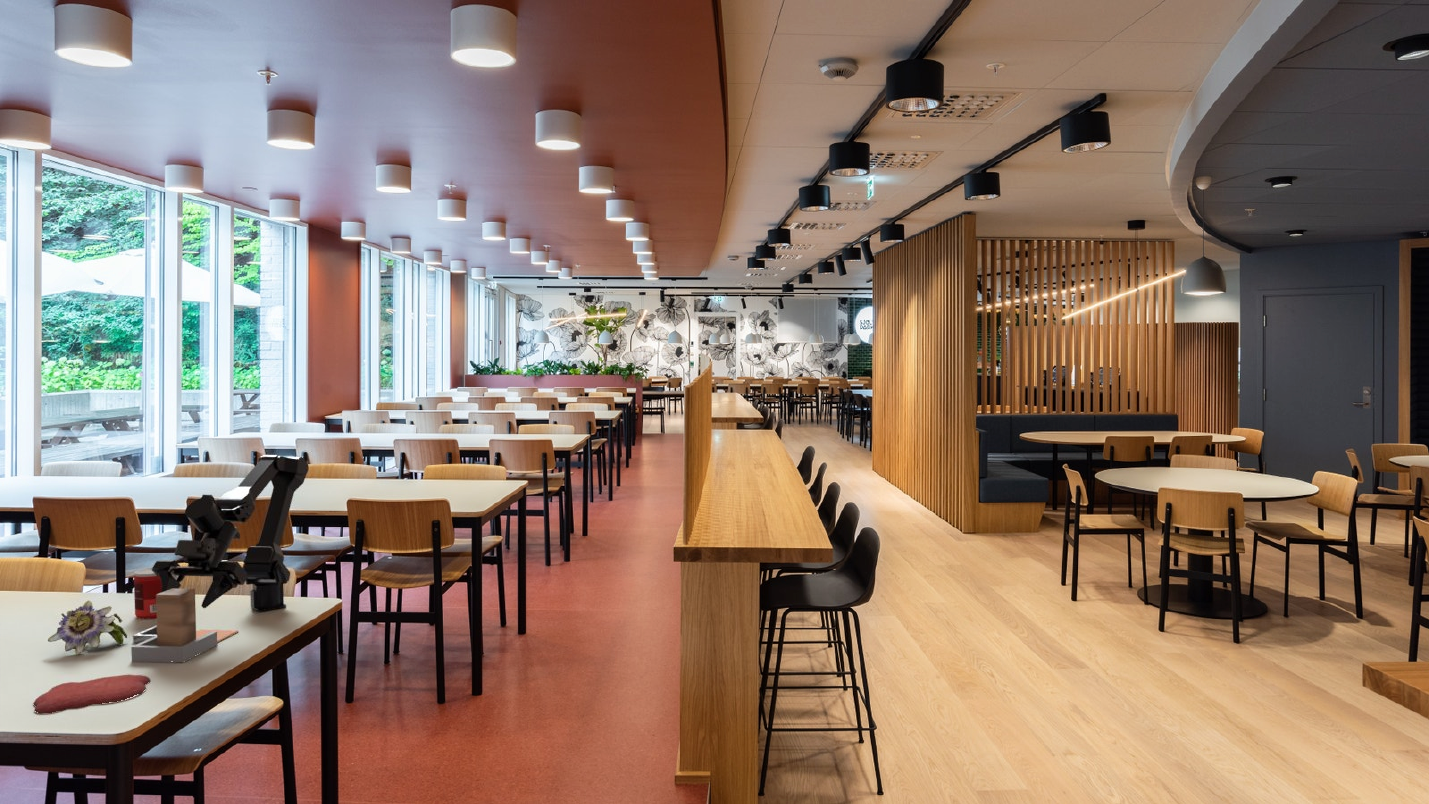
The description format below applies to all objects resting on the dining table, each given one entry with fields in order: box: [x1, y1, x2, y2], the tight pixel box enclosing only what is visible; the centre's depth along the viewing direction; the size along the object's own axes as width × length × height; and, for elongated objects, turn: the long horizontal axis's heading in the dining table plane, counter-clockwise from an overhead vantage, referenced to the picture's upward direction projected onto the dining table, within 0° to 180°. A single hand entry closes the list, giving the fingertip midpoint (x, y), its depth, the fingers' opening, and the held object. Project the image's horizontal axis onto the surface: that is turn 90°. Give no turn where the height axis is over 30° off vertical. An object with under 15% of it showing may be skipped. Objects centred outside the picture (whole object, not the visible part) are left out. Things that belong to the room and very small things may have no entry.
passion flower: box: [47, 600, 128, 656], centre depth 187 cm, size 11×11×12 cm
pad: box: [196, 629, 239, 644], centre depth 194 cm, size 9×9×1 cm
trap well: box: [132, 624, 157, 643], centre depth 194 cm, size 8×8×2 cm
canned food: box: [133, 566, 162, 620], centre depth 211 cm, size 8×8×11 cm
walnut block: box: [156, 588, 197, 647], centre depth 184 cm, size 5×5×13 cm
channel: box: [131, 632, 218, 663], centre depth 184 cm, size 11×11×3 cm
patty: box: [32, 674, 151, 714], centre depth 161 cm, size 18×14×2 cm
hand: (182, 606), depth 186 cm, fingers open, 9 cm apart
